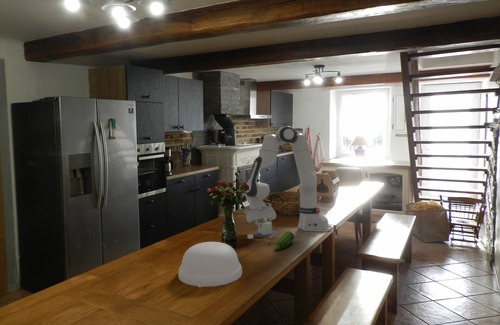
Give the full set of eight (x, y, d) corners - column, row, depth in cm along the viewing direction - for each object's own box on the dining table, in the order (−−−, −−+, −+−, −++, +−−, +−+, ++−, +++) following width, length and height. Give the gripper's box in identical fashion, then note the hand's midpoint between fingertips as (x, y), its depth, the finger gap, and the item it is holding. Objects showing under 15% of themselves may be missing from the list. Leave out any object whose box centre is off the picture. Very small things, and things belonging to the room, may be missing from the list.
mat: (279, 232, 254) (279, 231, 254) (271, 238, 239) (271, 237, 239) (259, 230, 259) (259, 229, 259) (249, 236, 244) (249, 235, 244)
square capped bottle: (266, 231, 253) (266, 217, 252) (271, 233, 248) (271, 219, 247) (258, 232, 250) (257, 218, 250) (263, 235, 245) (262, 220, 244)
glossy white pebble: (254, 238, 241) (254, 234, 241) (252, 240, 238) (252, 236, 237) (248, 237, 242) (248, 234, 242) (246, 239, 239) (246, 235, 239)
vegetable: (293, 228, 231) (278, 237, 214) (298, 239, 230) (284, 249, 213) (283, 232, 235) (268, 241, 217) (288, 243, 234) (273, 254, 216)
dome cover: (192, 260, 204) (191, 234, 202) (248, 264, 197) (248, 236, 196) (166, 285, 173) (165, 254, 171) (232, 290, 166) (231, 258, 165)
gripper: (245, 207, 249) (252, 225, 241) (272, 203, 258) (280, 221, 250) (242, 212, 253) (249, 231, 245) (269, 209, 263) (277, 226, 255)
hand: (265, 226), depth 248 cm, fingers closed on square capped bottle, 6 cm apart
